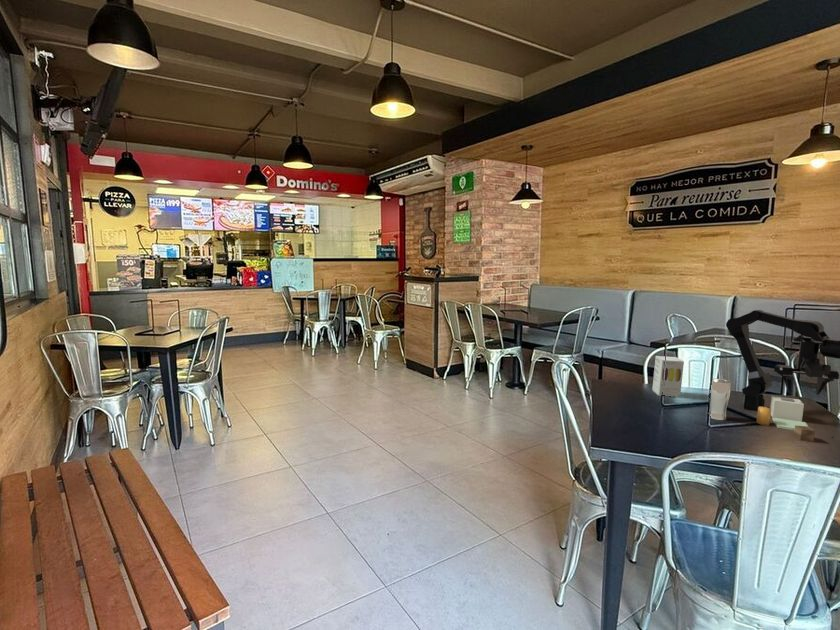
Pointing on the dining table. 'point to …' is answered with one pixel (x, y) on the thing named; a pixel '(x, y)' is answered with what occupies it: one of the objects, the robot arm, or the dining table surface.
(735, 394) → the dining table surface
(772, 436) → the dining table surface
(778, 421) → the pad
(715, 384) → the beer glass
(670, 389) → the supplement box
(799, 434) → the walnut block
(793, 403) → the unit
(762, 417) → the orange knob
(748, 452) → the dining table surface
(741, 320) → the robot arm
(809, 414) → the dining table surface
